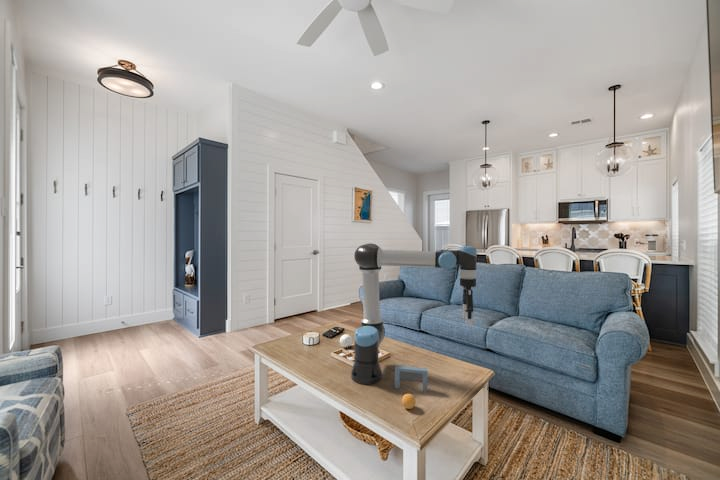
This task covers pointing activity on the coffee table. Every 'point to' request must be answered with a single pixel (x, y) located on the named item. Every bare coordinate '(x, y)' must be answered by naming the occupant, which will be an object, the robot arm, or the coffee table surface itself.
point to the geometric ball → (346, 340)
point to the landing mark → (411, 376)
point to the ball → (408, 401)
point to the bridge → (410, 369)
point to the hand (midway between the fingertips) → (467, 321)
